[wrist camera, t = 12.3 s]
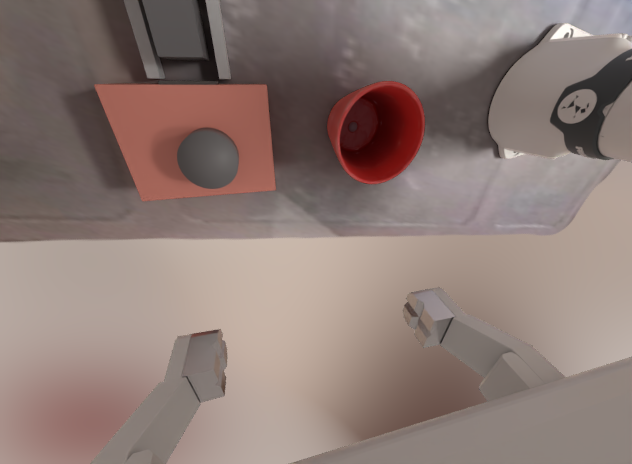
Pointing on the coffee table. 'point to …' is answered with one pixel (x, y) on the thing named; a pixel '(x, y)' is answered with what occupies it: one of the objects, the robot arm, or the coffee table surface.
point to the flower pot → (377, 131)
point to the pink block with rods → (190, 125)
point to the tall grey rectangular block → (177, 29)
